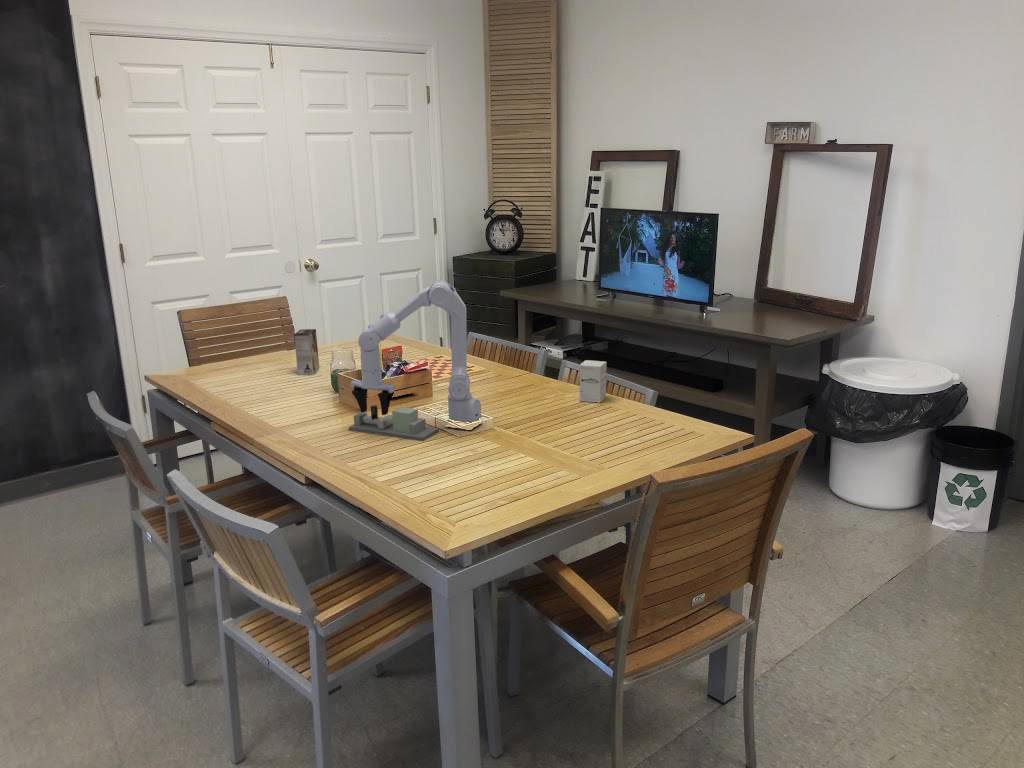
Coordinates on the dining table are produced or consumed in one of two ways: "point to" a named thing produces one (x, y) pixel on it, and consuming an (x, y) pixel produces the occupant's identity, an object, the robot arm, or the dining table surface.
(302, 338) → the coffee box
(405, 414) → the block
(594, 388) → the supplement box
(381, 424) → the ram
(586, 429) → the dining table surface
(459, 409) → the robot arm
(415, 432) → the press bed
